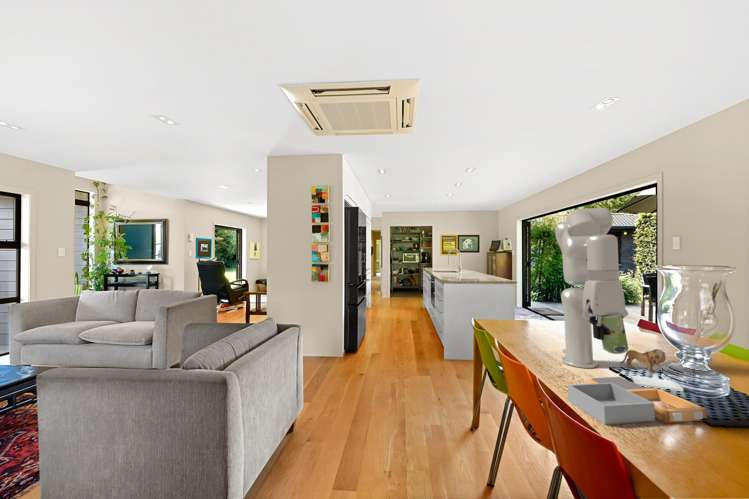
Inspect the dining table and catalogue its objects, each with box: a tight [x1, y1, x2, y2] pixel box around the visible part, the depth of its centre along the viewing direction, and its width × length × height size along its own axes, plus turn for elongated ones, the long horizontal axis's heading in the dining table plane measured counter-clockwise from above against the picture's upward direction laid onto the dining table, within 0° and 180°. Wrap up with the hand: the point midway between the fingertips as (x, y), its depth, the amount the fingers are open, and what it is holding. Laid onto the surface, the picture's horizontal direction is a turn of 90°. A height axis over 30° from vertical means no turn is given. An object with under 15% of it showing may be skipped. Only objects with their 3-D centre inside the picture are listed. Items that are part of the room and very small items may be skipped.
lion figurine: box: [619, 348, 667, 374], centre depth 125 cm, size 15×5×9 cm, turn 34°
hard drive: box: [630, 375, 685, 392], centre depth 110 cm, size 2×8×12 cm
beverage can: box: [601, 313, 629, 355], centre depth 93 cm, size 6×7×12 cm
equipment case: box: [587, 376, 708, 424], centre depth 99 cm, size 29×12×3 cm, turn 4°
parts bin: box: [567, 383, 656, 426], centre depth 92 cm, size 14×14×5 cm
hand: (605, 337), depth 93 cm, fingers closed on beverage can, 3 cm apart
